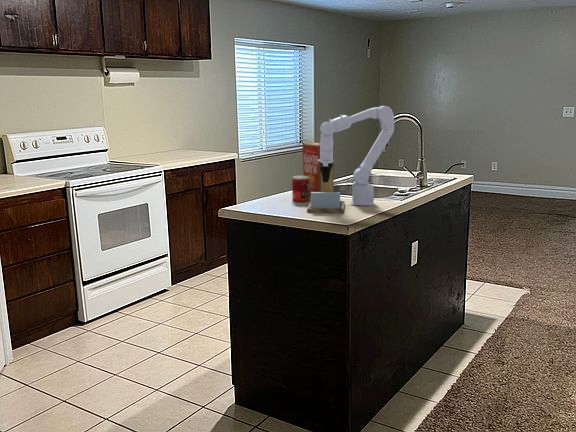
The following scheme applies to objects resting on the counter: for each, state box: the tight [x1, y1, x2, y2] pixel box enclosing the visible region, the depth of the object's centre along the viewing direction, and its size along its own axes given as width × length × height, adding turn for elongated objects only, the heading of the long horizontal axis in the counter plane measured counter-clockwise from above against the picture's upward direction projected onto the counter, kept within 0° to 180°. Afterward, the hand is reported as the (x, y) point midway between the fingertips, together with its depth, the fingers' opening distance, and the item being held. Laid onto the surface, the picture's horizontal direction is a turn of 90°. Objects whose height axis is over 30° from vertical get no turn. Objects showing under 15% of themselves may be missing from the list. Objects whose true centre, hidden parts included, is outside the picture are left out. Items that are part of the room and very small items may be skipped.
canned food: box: [291, 175, 310, 203], centre depth 261 cm, size 8×8×11 cm
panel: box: [310, 191, 341, 209], centre depth 238 cm, size 12×2×8 cm, turn 83°
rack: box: [306, 200, 345, 214], centre depth 244 cm, size 15×18×2 cm
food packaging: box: [302, 142, 335, 198], centre depth 270 cm, size 13×9×25 cm
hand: (326, 180), depth 252 cm, fingers open, 7 cm apart
